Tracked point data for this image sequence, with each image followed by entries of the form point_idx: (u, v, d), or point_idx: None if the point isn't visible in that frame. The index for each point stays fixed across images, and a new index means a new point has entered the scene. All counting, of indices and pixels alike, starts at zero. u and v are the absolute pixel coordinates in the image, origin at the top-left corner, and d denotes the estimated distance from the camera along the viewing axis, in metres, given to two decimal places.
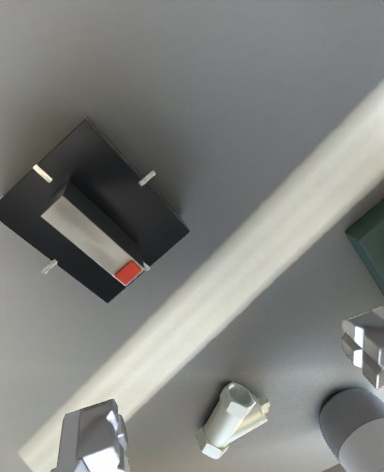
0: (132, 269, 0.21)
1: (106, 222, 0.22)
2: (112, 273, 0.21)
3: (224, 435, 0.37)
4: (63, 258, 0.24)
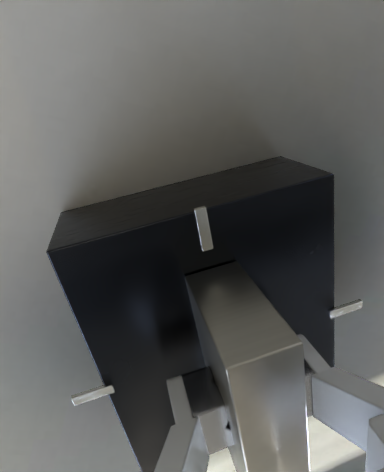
0: None
1: None
2: None
3: None
4: (126, 387, 0.12)
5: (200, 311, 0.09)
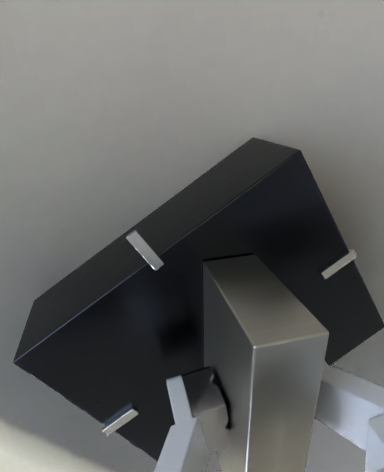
0: None
1: None
2: None
3: None
4: (159, 278, 0.10)
5: (222, 294, 0.09)
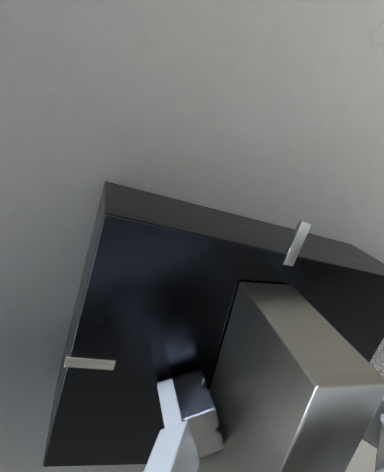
0: None
1: None
2: None
3: None
4: (272, 273, 0.10)
5: (267, 320, 0.08)
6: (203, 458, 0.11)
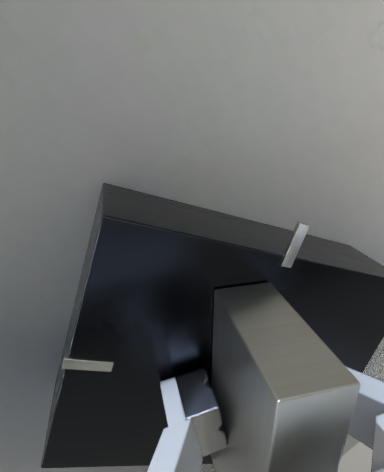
0: None
1: None
2: None
3: None
4: (270, 274, 0.10)
5: (237, 330, 0.08)
6: (216, 460, 0.11)
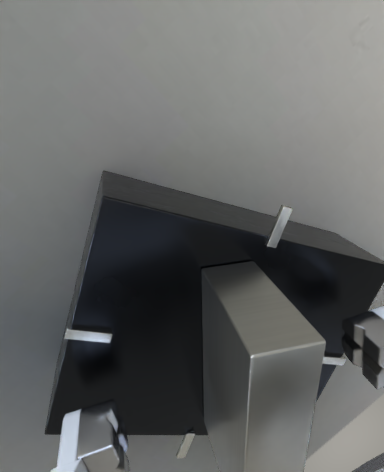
0: None
1: None
2: None
3: None
4: (257, 254, 0.11)
5: (220, 301, 0.09)
6: (210, 428, 0.12)
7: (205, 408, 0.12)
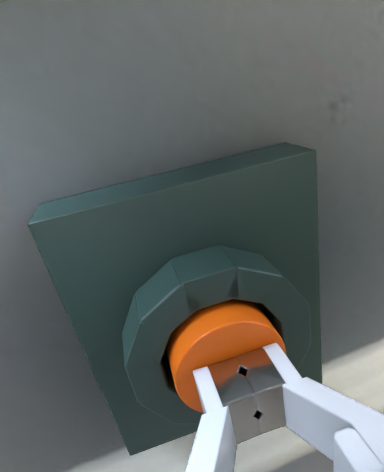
0: None
1: None
2: None
3: None
4: None
5: None
6: None
7: None
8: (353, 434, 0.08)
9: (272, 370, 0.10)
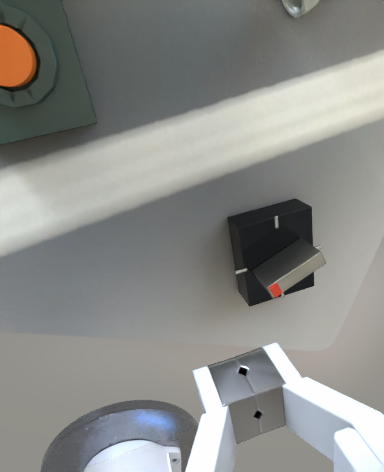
0: (278, 293, 0.35)
1: None
2: (277, 281, 0.35)
3: None
4: None
5: (309, 243, 0.37)
6: (260, 270, 0.38)
7: (260, 266, 0.38)
8: (353, 434, 0.08)
9: (272, 370, 0.10)
